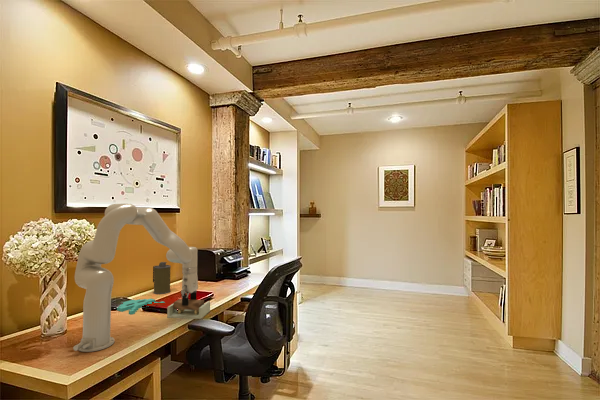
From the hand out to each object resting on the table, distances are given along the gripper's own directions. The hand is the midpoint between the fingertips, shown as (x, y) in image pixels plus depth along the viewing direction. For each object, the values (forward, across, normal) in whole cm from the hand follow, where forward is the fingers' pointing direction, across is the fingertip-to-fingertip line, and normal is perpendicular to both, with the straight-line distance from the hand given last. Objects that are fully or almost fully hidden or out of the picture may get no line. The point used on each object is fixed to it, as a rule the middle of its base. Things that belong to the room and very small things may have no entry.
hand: (189, 302), depth 165 cm
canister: (+6, +41, +38) cm, 56 cm away
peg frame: (+6, 0, 0) cm, 6 cm away
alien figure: (+7, +10, +35) cm, 37 cm away
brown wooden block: (+3, 0, 0) cm, 3 cm away
